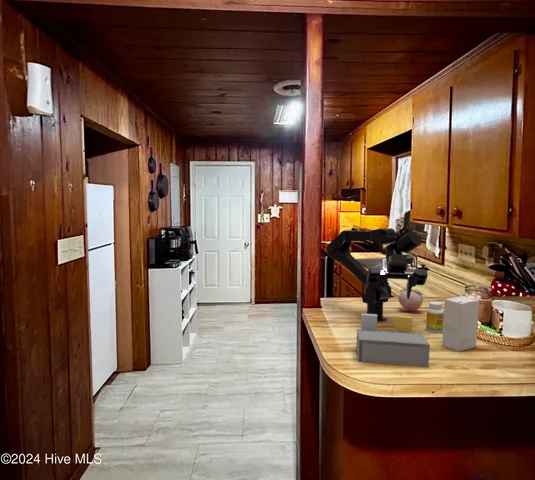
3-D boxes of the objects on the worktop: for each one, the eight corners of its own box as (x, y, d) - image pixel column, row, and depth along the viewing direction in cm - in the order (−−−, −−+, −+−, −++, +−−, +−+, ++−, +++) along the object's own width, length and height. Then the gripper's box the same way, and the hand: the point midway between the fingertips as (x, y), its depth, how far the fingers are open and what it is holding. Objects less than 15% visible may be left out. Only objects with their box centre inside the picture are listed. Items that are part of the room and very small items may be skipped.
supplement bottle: (431, 327, 135) (433, 300, 134) (446, 331, 131) (447, 303, 130) (422, 329, 132) (423, 302, 131) (436, 334, 128) (438, 305, 127)
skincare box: (459, 341, 121) (462, 295, 119) (477, 348, 115) (480, 299, 114) (440, 345, 117) (443, 297, 116) (458, 352, 112) (461, 302, 110)
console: (356, 349, 113) (357, 329, 113) (420, 353, 110) (421, 333, 110) (358, 361, 104) (359, 340, 104) (428, 366, 102) (429, 344, 101)
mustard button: (394, 340, 118) (395, 315, 117) (409, 342, 117) (410, 316, 116) (399, 352, 108) (401, 325, 108) (416, 353, 108) (418, 326, 107)
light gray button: (360, 338, 119) (361, 313, 118) (375, 339, 119) (376, 314, 118) (363, 350, 110) (364, 322, 109) (379, 351, 109) (380, 323, 108)
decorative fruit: (424, 310, 156) (425, 286, 155) (420, 315, 149) (421, 290, 148) (400, 307, 161) (401, 283, 160) (395, 311, 154) (396, 287, 153)
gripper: (369, 243, 129) (371, 282, 119) (427, 245, 126) (435, 285, 117) (366, 263, 138) (368, 301, 128) (420, 265, 135) (427, 304, 125)
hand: (398, 298), depth 124 cm, fingers open, 6 cm apart
